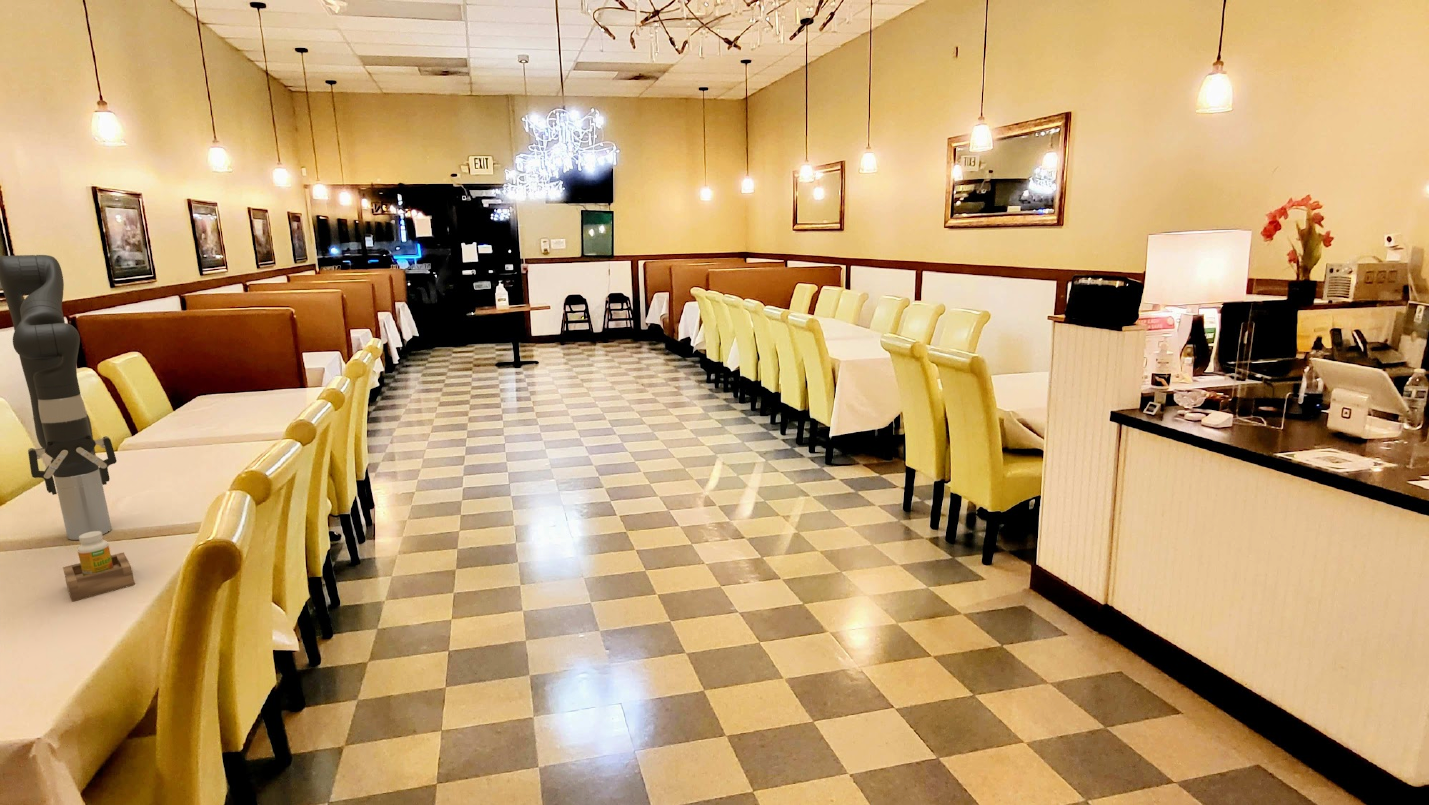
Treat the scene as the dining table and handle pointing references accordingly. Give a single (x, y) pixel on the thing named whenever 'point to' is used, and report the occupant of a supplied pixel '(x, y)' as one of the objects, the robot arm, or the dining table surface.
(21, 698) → the dining table surface
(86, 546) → the supplement bottle
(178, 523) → the dining table surface
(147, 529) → the dining table surface
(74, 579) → the wooden open box
